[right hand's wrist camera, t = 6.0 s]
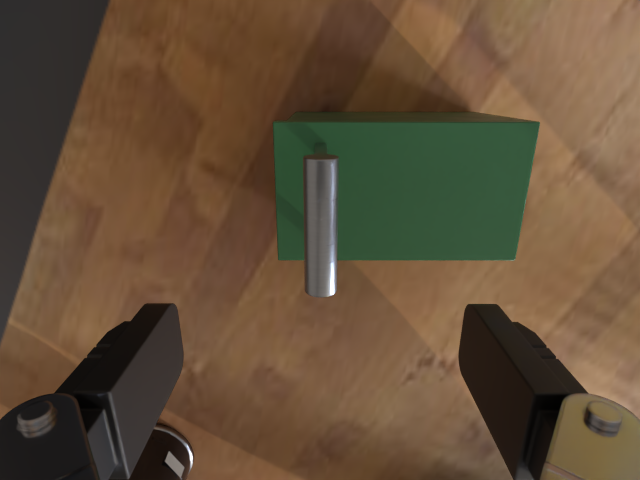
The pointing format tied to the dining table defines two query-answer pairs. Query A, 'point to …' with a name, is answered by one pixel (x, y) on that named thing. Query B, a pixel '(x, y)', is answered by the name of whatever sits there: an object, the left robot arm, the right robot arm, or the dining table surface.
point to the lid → (399, 191)
